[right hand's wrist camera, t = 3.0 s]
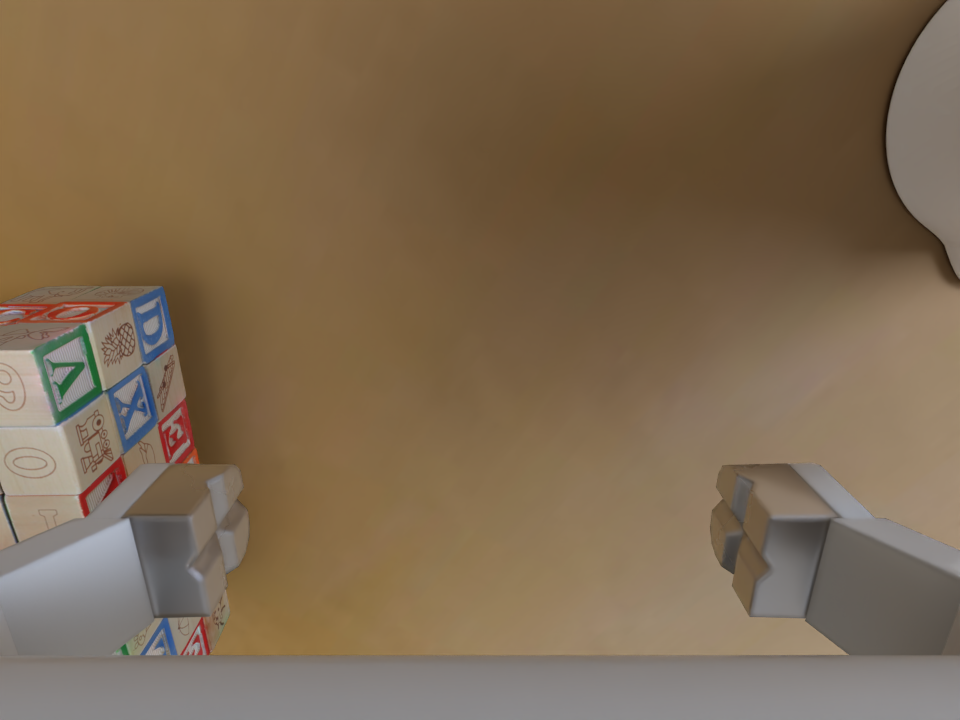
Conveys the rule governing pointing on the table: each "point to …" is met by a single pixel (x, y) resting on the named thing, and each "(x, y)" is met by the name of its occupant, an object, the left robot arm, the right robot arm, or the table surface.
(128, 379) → the stack of blocks
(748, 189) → the table surface
